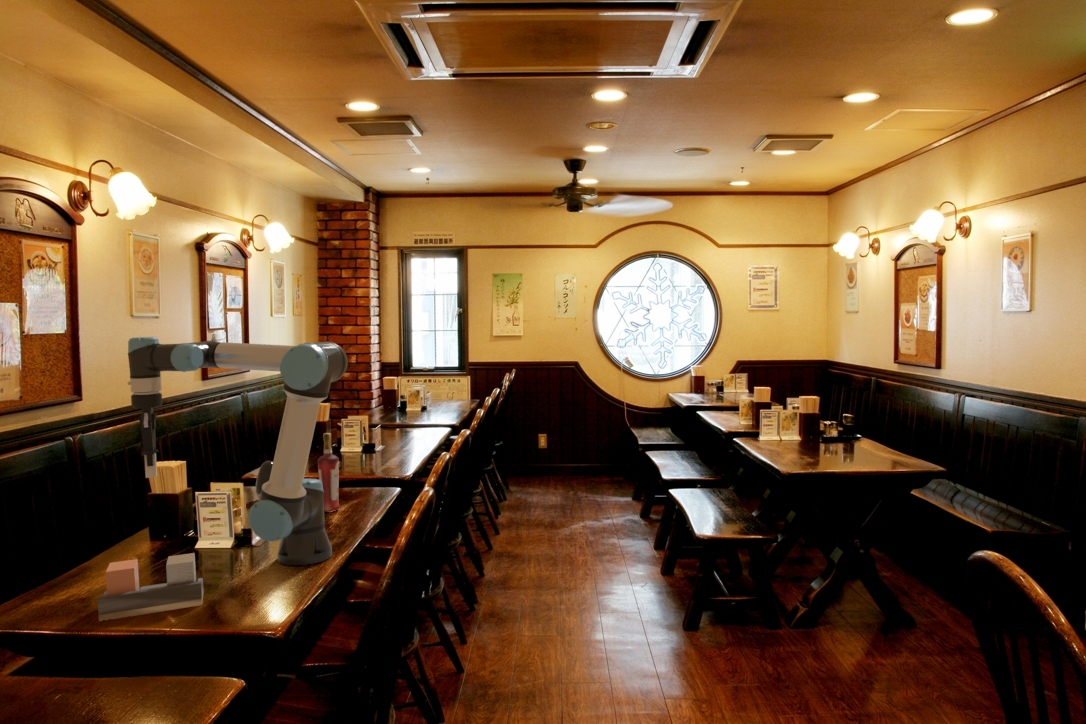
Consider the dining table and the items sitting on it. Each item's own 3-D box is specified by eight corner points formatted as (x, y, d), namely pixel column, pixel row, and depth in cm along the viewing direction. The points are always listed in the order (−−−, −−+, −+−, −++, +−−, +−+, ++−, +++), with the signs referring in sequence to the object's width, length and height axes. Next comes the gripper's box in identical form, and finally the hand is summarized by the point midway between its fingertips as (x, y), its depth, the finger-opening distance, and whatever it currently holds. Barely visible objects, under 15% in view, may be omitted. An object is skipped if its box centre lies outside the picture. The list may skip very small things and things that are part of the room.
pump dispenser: (275, 504, 275) (273, 464, 274) (250, 503, 277) (248, 463, 276) (290, 497, 285) (288, 458, 284) (265, 496, 287) (263, 457, 286)
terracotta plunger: (112, 598, 183) (110, 562, 182) (139, 594, 185) (137, 559, 185) (108, 608, 177) (105, 571, 176) (136, 604, 179) (134, 568, 178)
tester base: (105, 605, 182) (104, 584, 182) (203, 590, 191) (202, 570, 190) (99, 621, 173) (97, 598, 173) (202, 604, 182) (200, 583, 181)
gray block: (170, 591, 187) (168, 556, 186) (196, 587, 189) (194, 552, 189) (168, 601, 180) (166, 565, 180) (195, 596, 183) (193, 561, 182)
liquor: (323, 508, 268) (320, 431, 266) (343, 507, 268) (340, 431, 266) (316, 513, 261) (313, 435, 259) (337, 513, 261) (334, 435, 259)
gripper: (133, 391, 209) (138, 473, 210) (127, 396, 197) (133, 483, 198) (163, 389, 211) (168, 470, 213) (159, 394, 199) (164, 480, 201)
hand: (151, 476), depth 206 cm, fingers closed
